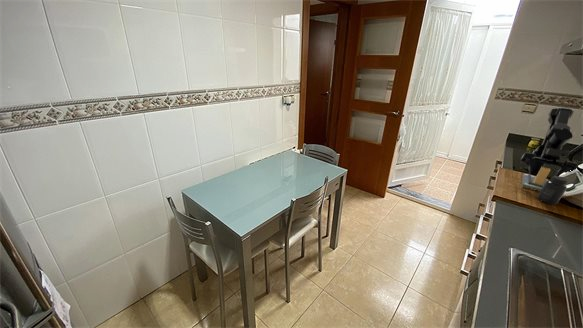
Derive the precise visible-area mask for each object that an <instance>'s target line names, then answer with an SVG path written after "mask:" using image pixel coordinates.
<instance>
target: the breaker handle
mask: <svg viewBox="0 0 583 328" xmlns="http://www.w3.org/2000/svg"><path fill="white" fill-rule="evenodd" d="M550 172H551V168H550V167H546V166H545V167H541V169H540V171H539V172H538V173H536V175H535V176H536V178H535V180H534V181H533V180H532V181H531V185H534V186H538V187H542V188H543V186H544V184H543V182H544V181H545V179H547V178H548V176H549V174H550Z"/></svg>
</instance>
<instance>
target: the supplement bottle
mask: <svg viewBox="0 0 583 328" xmlns="http://www.w3.org/2000/svg"><path fill="white" fill-rule="evenodd" d="M568 182H569V180H568V178H565V177H563V176H561V175H560V176H555V175H552V177H551V178H550V180H549V181H547V182H546V183H545V184H544V186H543V188H542V189H541V191H540V192H539V193H538V195H537V197H538V198H539V199H540V200H542V201H544V202H546V203H545V204H547V203H549V204H548V205H552V204H555V205H557V204H559V202H560V200H561V198H562V197H563V196H564V194H565V192H566V191H567V189H568V187H567V183H568ZM538 198H537V199H538ZM539 199H538V200H539ZM540 200H539V201H540ZM542 201H541V202H542ZM544 202H543V203H544Z"/></svg>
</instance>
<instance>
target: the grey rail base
mask: <svg viewBox="0 0 583 328" xmlns="http://www.w3.org/2000/svg"><path fill="white" fill-rule="evenodd" d="M536 176H537V175H532V173H531V174H529V173H523V174H522V175H521V179H522V180H521V187H522V186H523V187H522V188H525V187H527V188H526V189H528V188H532V189H536V190H539V191H541V189H542V187H538V186H534V185H531V181H532V180H533V181H534V180H535V178H536ZM547 181H550V180H549V179H547V178H546V179H545V181H544V182H543V184H545V183H546V182H547ZM532 189H531V190H532ZM539 191H538V192H539Z"/></svg>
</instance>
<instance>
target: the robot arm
mask: <svg viewBox="0 0 583 328" xmlns="http://www.w3.org/2000/svg"><path fill="white" fill-rule="evenodd" d="M574 112H575V111H573V109H571V108H565V107H558V108H556V107H555V108H552V109H550V111H549V112H548V115H547V116H548V119H547V121H548V123H549V125H548V129H547V131H546V133H545V136H544V138H543V141H542V143H541V144H539V146H538V147H537V148H536V149H534V150H533V152H528V151H526V152H524V153H523V154H522V156H521V158H520V161H521V162H523V163H524V164H526V166H525V167H523V169H525V170H527V171H528V174H531V175H532V174H538V172H539V171H540V169H541V167H546V166H547V165H549V166H550V165H552V166H557V167H560V168H559V169H558V170H557V171H556V174H555V175H554V176H560V177H561V175H562V174H563V173H572V172H571V171H573V170H574V171H576V170H577V169H578V167H579V164H578V163H577V162H574V161H569V160H565V162H561V161H559V160H560V159H561V158H567V157H568V156H569V155H570V149H563V146H564V145H566V144H567V143H568V142H569V141H570V140H571V139H573V137H574V136H573V133H572V131H571V127H570V126H569V125H568V124H569V119H571V118H572V117H573V115H574ZM562 149H563V150H562ZM576 168H577V169H576ZM570 170H571V171H570ZM574 171H573V172H574Z"/></svg>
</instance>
